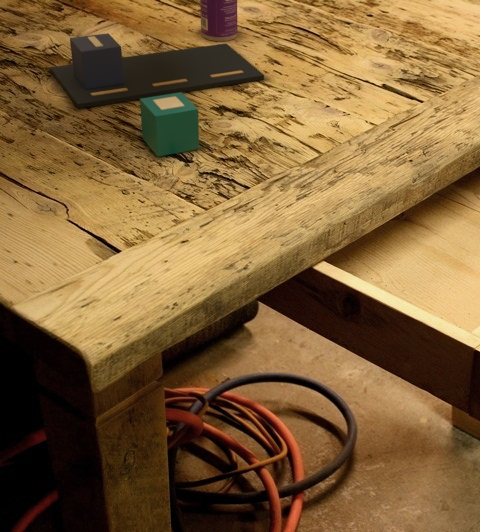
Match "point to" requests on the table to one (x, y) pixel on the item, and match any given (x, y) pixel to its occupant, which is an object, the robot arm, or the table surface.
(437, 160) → the table surface
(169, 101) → the green cube
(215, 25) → the container
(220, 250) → the table surface
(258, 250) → the table surface
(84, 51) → the striped navy gift box
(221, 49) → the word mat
